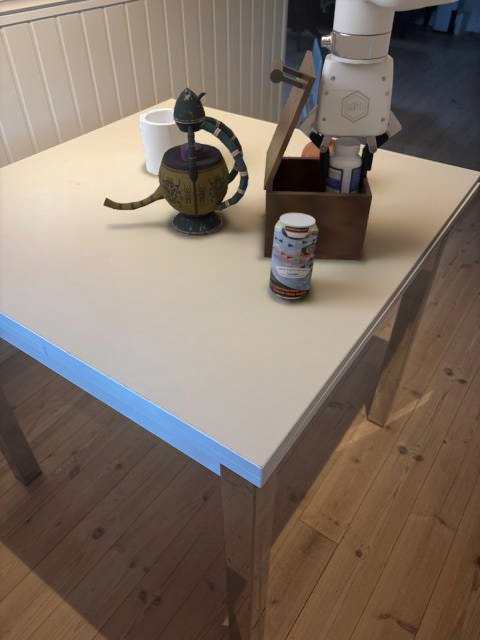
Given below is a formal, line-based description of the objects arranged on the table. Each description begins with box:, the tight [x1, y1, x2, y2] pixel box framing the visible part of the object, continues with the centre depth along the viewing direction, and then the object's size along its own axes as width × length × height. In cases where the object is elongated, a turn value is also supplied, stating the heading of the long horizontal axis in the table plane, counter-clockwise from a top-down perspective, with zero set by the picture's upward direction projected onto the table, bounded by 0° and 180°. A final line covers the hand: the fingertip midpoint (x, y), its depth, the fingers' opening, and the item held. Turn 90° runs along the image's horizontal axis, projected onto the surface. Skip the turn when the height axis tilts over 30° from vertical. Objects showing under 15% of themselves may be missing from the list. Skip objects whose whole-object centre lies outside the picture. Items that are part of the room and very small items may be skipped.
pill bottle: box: [325, 136, 362, 193], centre depth 77 cm, size 5×5×9 cm
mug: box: [138, 107, 188, 176], centre depth 106 cm, size 14×10×11 cm
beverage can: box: [268, 213, 318, 300], centre depth 70 cm, size 6×7×12 cm
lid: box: [262, 50, 317, 192], centre depth 72 cm, size 17×14×5 cm
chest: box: [263, 156, 373, 261], centre depth 81 cm, size 16×14×11 cm
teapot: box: [103, 87, 250, 237], centre depth 81 cm, size 12×25×23 cm, turn 95°
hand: (343, 173), depth 77 cm, fingers closed on pill bottle, 5 cm apart
